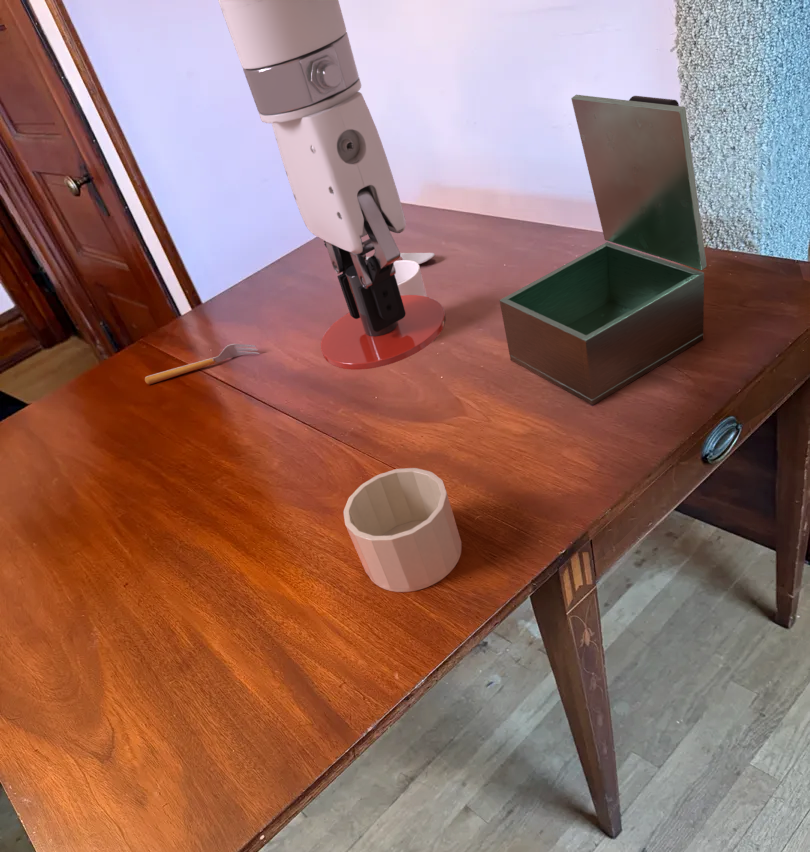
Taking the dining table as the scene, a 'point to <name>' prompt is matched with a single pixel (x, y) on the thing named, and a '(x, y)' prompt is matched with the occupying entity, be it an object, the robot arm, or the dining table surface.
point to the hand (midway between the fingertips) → (378, 315)
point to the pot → (403, 529)
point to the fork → (202, 363)
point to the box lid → (643, 175)
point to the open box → (604, 320)
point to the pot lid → (381, 332)
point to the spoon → (416, 257)
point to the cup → (409, 278)
